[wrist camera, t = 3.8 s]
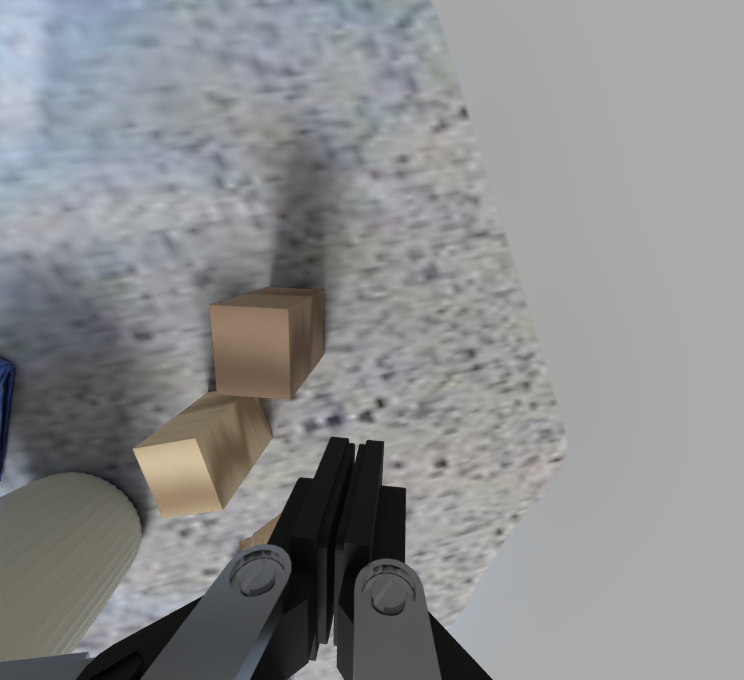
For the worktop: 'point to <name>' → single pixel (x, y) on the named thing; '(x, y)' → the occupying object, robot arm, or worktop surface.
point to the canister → (60, 560)
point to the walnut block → (267, 341)
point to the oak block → (203, 453)
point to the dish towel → (5, 402)
